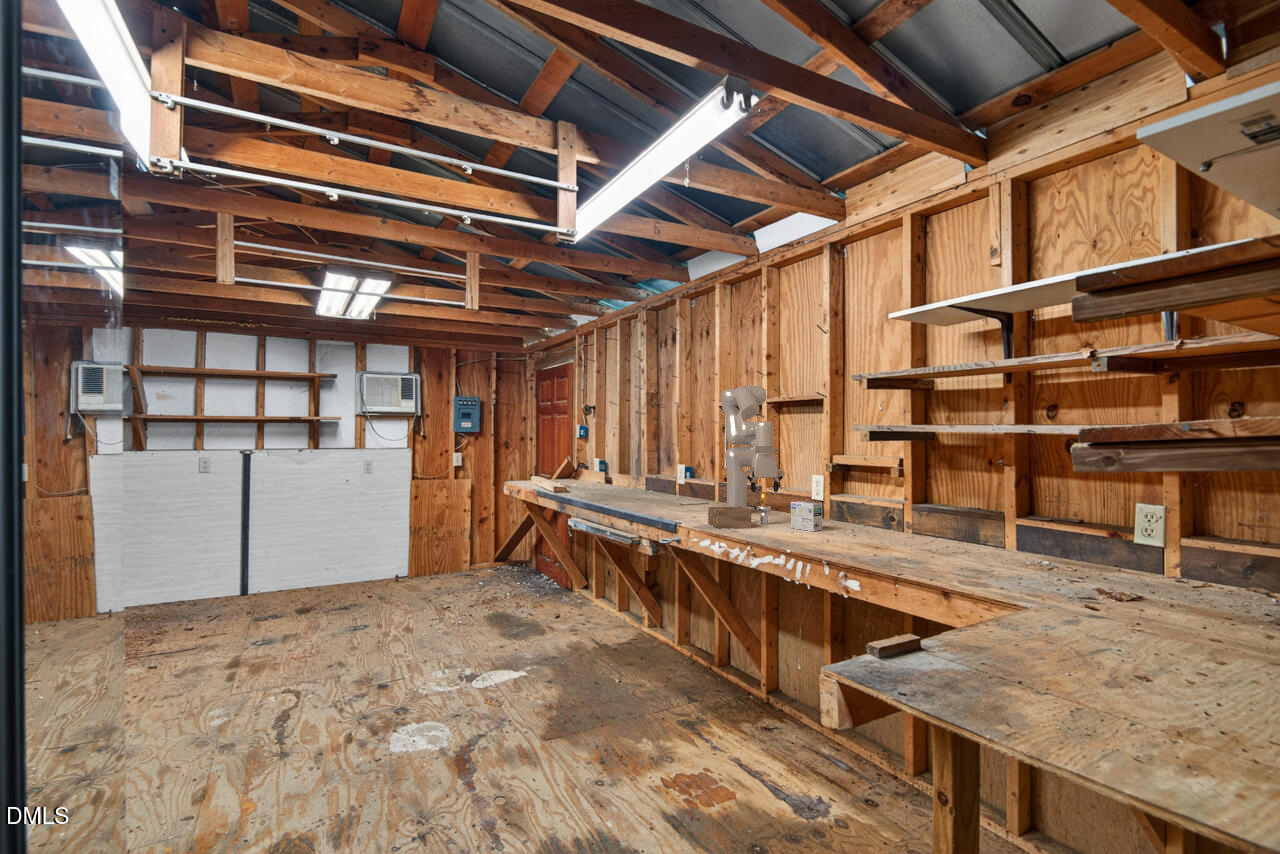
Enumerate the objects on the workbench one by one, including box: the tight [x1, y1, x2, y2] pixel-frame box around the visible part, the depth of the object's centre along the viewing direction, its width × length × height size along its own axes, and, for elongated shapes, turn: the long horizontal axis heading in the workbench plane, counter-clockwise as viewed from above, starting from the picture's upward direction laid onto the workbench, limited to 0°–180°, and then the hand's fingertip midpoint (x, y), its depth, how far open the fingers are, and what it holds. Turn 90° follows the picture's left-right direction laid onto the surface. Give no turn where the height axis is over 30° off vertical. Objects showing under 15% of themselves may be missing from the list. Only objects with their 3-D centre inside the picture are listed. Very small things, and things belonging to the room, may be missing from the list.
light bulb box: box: [790, 500, 823, 532], centre depth 236 cm, size 11×7×11 cm, turn 42°
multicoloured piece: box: [756, 491, 772, 525], centre depth 249 cm, size 6×6×14 cm
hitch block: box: [707, 506, 752, 529], centre depth 244 cm, size 14×14×7 cm
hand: (764, 491), depth 249 cm, fingers open, 9 cm apart
